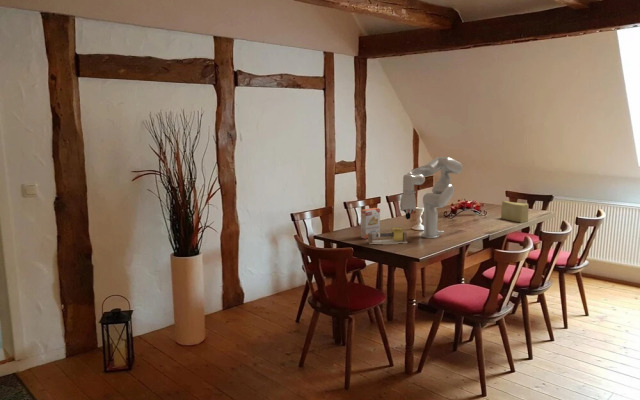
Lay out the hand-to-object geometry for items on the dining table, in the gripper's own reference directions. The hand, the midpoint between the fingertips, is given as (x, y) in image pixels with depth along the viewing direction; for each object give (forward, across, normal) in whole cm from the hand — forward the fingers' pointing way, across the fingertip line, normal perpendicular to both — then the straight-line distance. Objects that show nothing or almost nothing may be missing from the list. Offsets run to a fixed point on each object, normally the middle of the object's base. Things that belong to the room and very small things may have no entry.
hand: (407, 218), depth 334 cm
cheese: (+14, -105, -54) cm, 119 cm away
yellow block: (+14, +7, 0) cm, 16 cm away
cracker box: (+17, +22, -18) cm, 33 cm away
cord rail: (+16, +14, 0) cm, 22 cm away
